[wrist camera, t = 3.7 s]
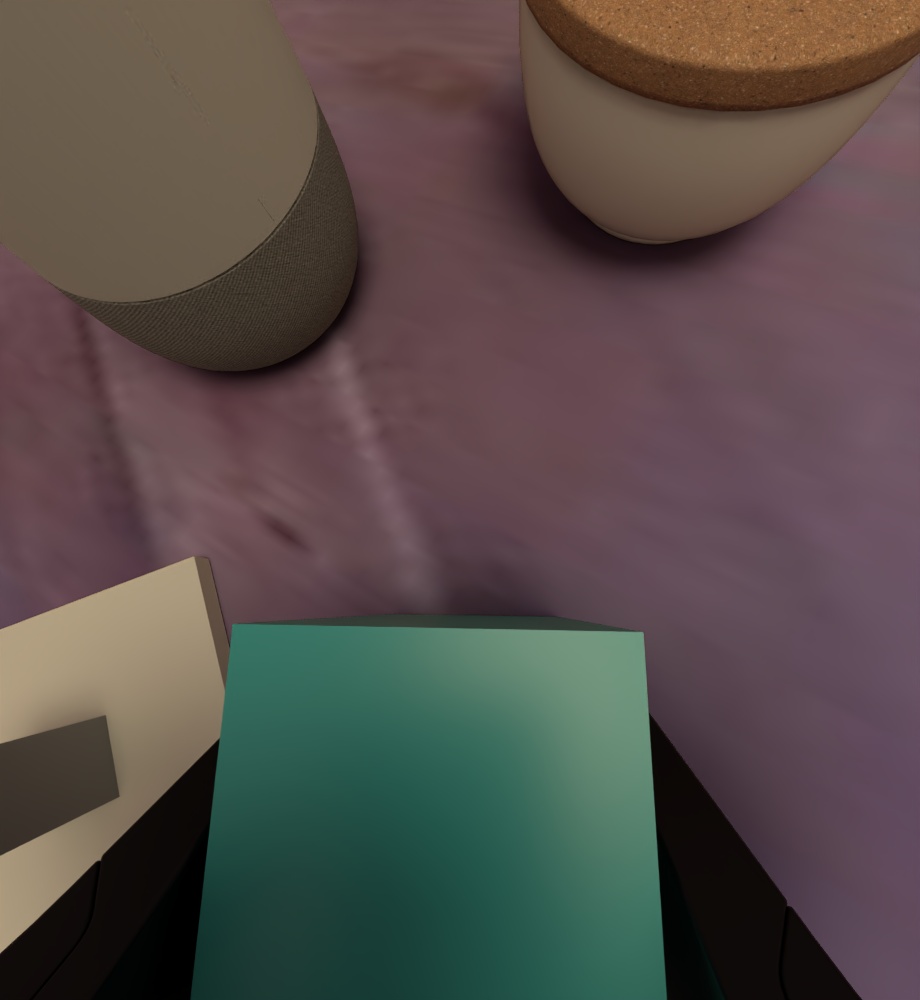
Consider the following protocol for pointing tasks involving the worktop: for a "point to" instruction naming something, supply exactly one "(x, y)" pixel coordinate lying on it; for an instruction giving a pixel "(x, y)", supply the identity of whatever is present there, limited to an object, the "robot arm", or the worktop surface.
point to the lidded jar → (702, 101)
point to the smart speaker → (174, 175)
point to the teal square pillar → (432, 814)
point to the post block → (100, 724)
